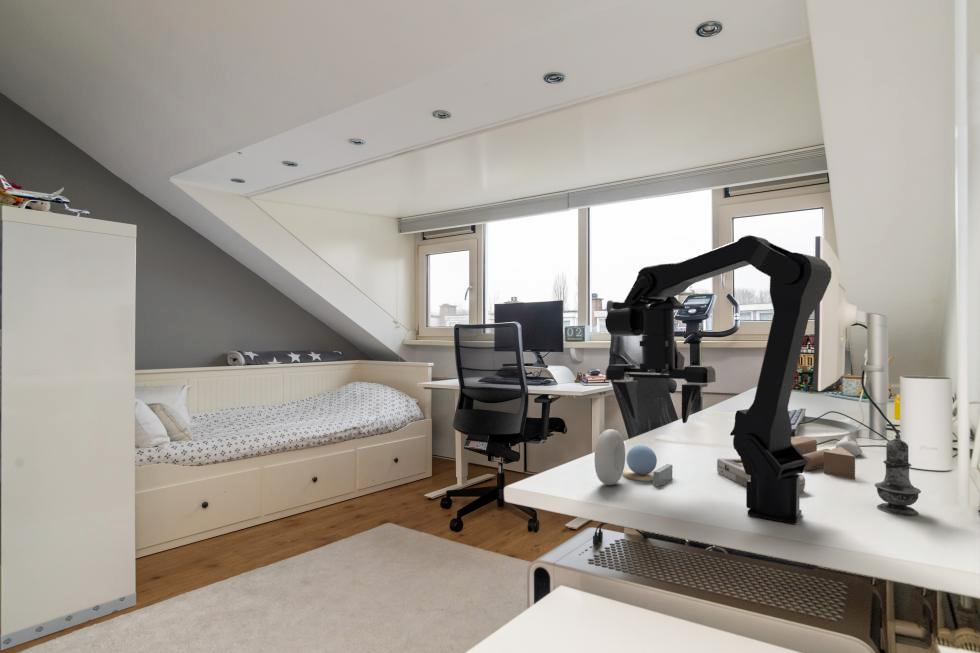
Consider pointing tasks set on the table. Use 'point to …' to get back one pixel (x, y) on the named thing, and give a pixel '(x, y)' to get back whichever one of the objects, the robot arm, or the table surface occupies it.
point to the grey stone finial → (897, 481)
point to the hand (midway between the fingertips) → (659, 420)
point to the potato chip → (638, 476)
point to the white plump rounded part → (609, 457)
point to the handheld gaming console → (742, 472)
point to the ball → (641, 459)
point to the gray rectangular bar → (662, 475)
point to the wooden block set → (826, 458)
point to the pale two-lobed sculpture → (849, 445)
